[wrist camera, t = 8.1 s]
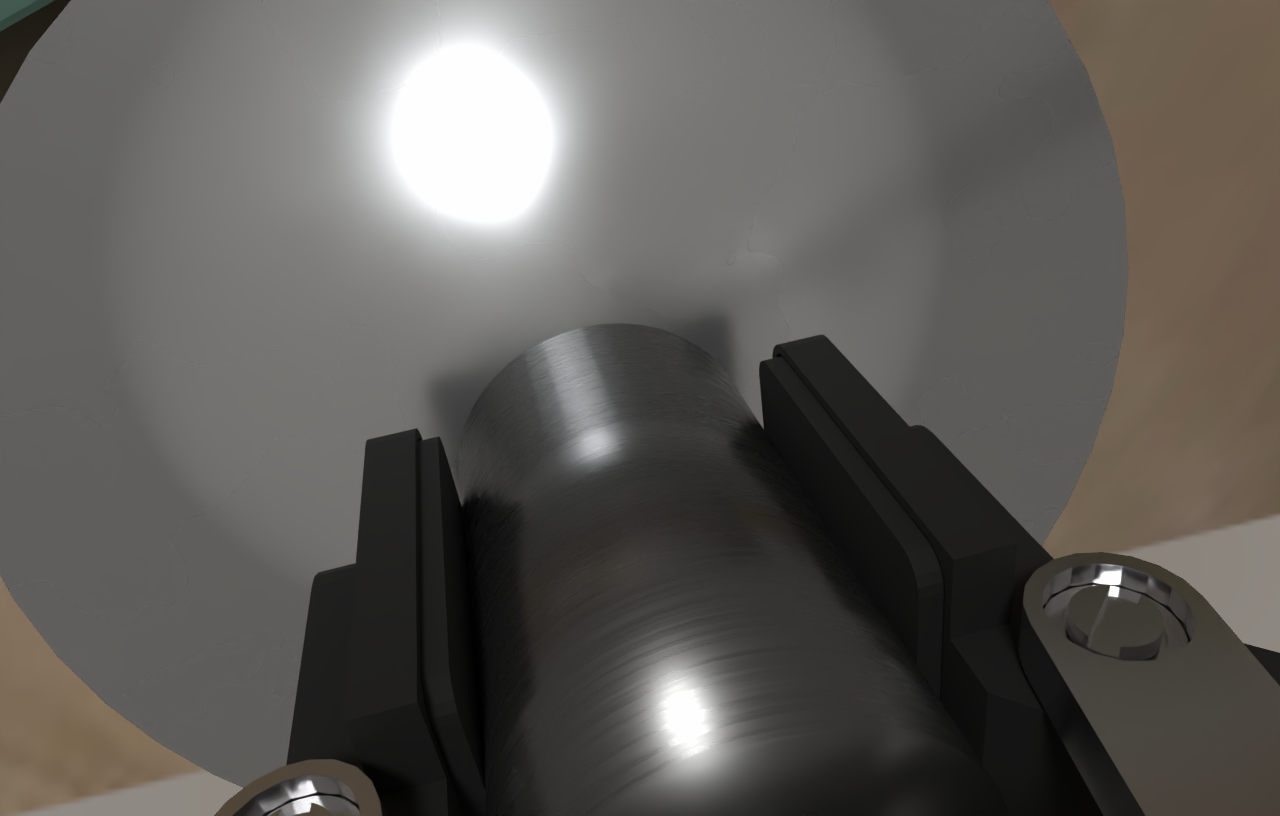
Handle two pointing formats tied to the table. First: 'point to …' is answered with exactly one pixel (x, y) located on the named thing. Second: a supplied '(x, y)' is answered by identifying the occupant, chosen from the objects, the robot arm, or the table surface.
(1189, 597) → the robot arm
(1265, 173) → the table surface
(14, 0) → the mint green octagonal rod
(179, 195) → the lid
